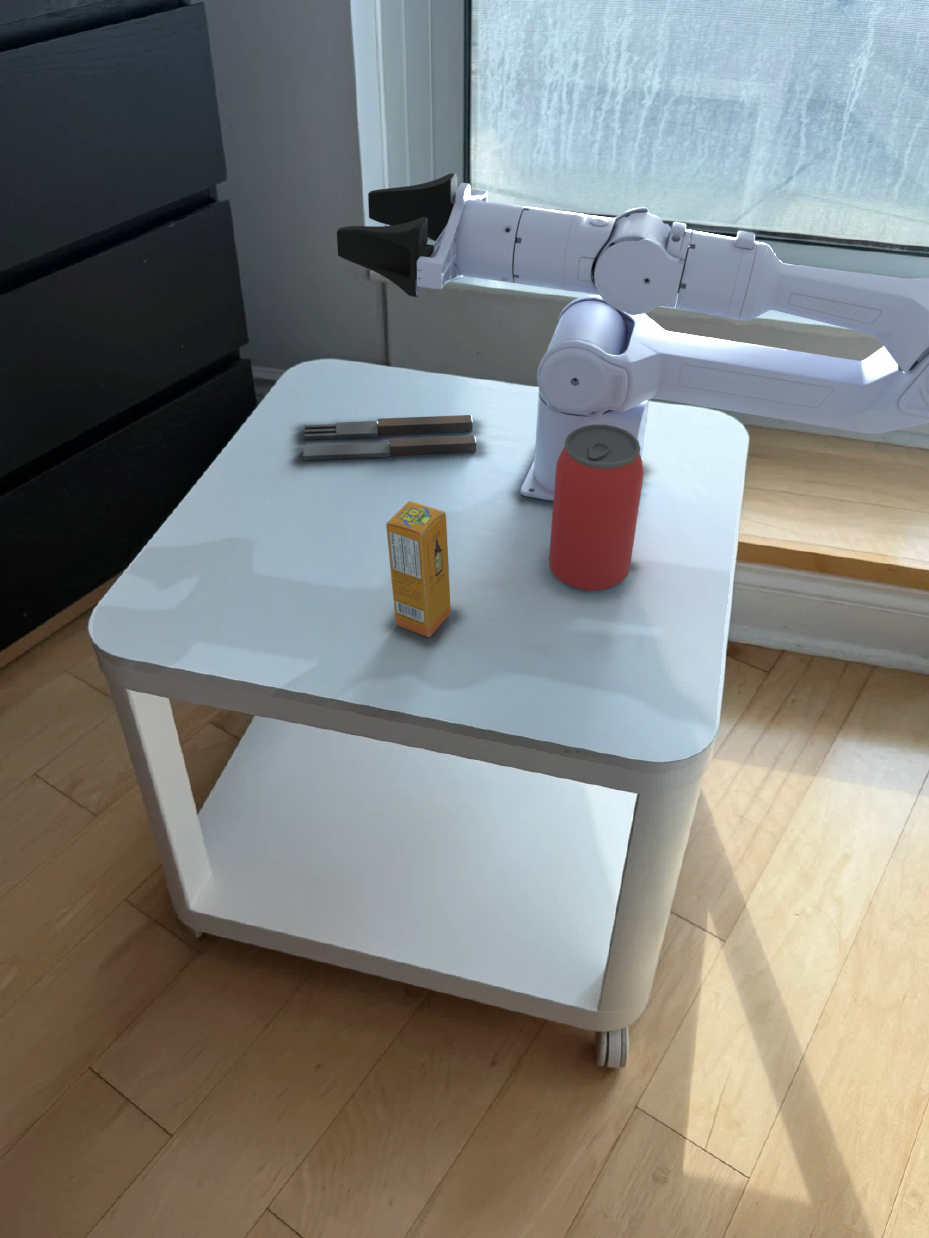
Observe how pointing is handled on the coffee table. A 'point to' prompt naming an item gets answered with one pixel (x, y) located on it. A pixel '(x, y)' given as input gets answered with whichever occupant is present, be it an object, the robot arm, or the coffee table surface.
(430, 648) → the coffee table surface
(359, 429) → the cutlery
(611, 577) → the beer can
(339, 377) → the coffee table surface
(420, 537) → the supplement box
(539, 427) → the robot arm
